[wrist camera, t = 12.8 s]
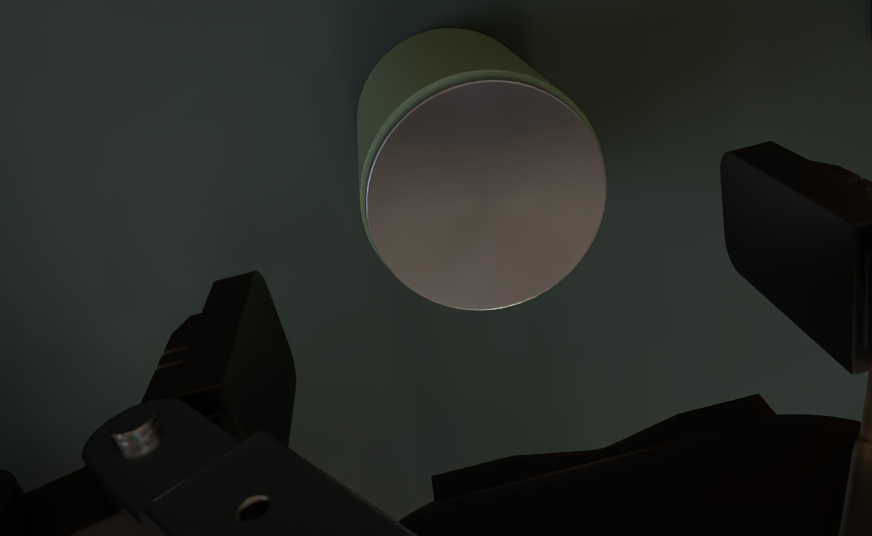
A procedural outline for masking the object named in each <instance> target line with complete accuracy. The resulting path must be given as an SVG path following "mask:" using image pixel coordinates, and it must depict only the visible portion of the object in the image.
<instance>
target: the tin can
mask: <svg viewBox="0 0 872 536" xmlns="http://www.w3.org/2000/svg"><path fill="white" fill-rule="evenodd" d="M357 138H358V165H359V191H360V209H361V214H362V220H363V224H364V227H365V230H366V233H367V236H368V238H369V240H370V242H371V244H372V246H373V248H374V250H375V252H376V253H377V255H378V256H379V258H380V259H381V261H382V262H383V263H384V264H385V265H386V266H387V268H388V269H389V270H390V271H391V272H392V273H393V274H394V275H395V277H396V278H397V279H398V280H400V281H401V282H402V283H403V284H404V285H405V286H407V287H408V288H409V289H411V290H412V291H414V292H415V293H417V294H419V295H420V296H422V297H424V298H426V299H428V300H431V301H433V302H435V303H438V304H441V305H444V306H447V307H452V308H458V309H464V310H493V309H499V308H506V307H509V306H513V305H516V304H520V303H522V302H525V301H527V300H530V299H532V298H534V297H536V296H538V295H540V294H542V293H544V292H546V291H547V290H549V289H550V288H552V287H553V286H554V285H556V284H557V283H559V282H560V281H561V280H562V279H563V278H564V277H566V276H567V275H568V274H569V273H570V272H571V271H572V270H573V269H574V268H575V266H576V265H577V264H578V263H579V262H580V261H581V259H582V258H583V257H584V255H585V254H586V252H587V251H588V249H589V248H590V246H591V244H592V242H593V240H594V238H595V237H596V234H597V232H598V229H599V227H600V224H601V221H602V217H603V213H604V209H605V204H606V194H607V179H606V171H605V165H604V160H603V154H602V151H601V148H600V144H599V141H598V138H597V136H596V134H595V132H594V130H593V128H592V126H591V124H590V123H589V121H588V120H587V118H586V117H585V115H584V114H583V112H582V111H581V110H580V109H579V108H578V107H577V106H576V105H575V103H574V102H573V101H572V100H571V99H569V98H568V97H567V96H566V95H564V94H563V93H562V92H561V91H560V90H558V89H557V88H556V87H555V86H553V85H552V84H551V83H550V82H549V81H547V80H546V79H545V78H544V77H542V76H541V75H540V74H539V73H537V72H536V71H535V70H534V69H532V68H531V67H530V66H529V65H528V64H526V63H525V62H524V61H523V60H521V59H520V58H519V57H518V56H516V55H515V54H514V53H513V52H511V51H510V50H509V49H508V48H507V47H505V46H504V45H503V44H501V43H500V42H498V41H496V40H495V39H493V38H491V37H489V36H487V35H484V34H482V33H479V32H476V31H472V30H468V29H461V28H441V29H434V30H429V31H426V32H422V33H419V34H417V35H414V36H412V37H410V38H408V39H406V40H404V41H403V42H401V43H399V44H398V45H396V46H395V47H394V48H393V49H391V50H390V51H389V52H388V53H387V54H386V55H385V56H384V57H383V58H382V59H381V60H380V61H379V62H378V63H377V65H376V66H375V67H374V69H373V70H372V72H371V73H370V75H369V77H368V79H367V81H366V83H365V85H364V88H363V90H362V93H361V96H360V100H359V104H358V111H357Z"/></svg>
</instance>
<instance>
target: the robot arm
mask: <svg viewBox="0 0 872 536" xmlns="http://www.w3.org/2000/svg"><path fill="white" fill-rule="evenodd" d="M720 174H721V189H722V203H723V218H724V233H725V243H726V248H727V251H728V255H729V257H730V260H731V262H732V264H733V266H734V267H735V269H736V270H737V272H738V273H739V274H740V275H741V276H742V277H744V278H745V279H746V280H747V281H748V282H749V283H750V284H751V285H753V286H754V287H755V288H756V289H757V290H758V291H759V292H760V293H761V294H763V295H764V296H765V297H766V298H767V299H768V300H769V301H770V302H771V303H773V304H774V305H775V306H776V307H777V308H778V309H779V310H780V311H781V312H783V313H784V314H785V315H786V316H787V317H788V318H789V319H790V320H792V321H793V322H794V323H795V324H796V325H797V326H798V327H799V328H800V329H802V330H803V331H804V332H805V333H806V334H807V335H808V336H809V337H810V338H812V339H813V340H814V341H815V342H816V343H817V344H818V345H819V346H820V347H822V348H823V349H824V350H825V351H826V352H827V353H828V354H829V355H831V356H832V357H833V358H834V359H835V360H836V361H837V362H838V363H839V364H841V365H842V366H843V367H844V368H845V369H846V370H847V371H848V372H849V373H851V374H852V375H856V374H860V373H864V372H868V371H870V372H869V378H868V384H867V391H866V397H865V403H864V409H863V416H862V422H859V421H855V420H850V419H844V418H837V417H831V416H820V415H804V414H786V415H777V414H776V413H775V412H774V411H773V410H772V409H771V408H770V406H769V405H768V404H767V403H766V402H765V401H764V399H763V398H762V397H761V396H760V395H759V394H755V395H751V396H747V397H743V398H740V399H736V400H732V401H728V402H724V403H720V404H716V405H712V406H708V407H704V408H700V409H696V410H692V411H688V412H684V413H680V414H677V415H675V416H673V417H670V418H668V419H666V420H664V421H662V422H660V423H658V424H655V425H653V426H651V427H649V428H647V429H645V430H643V431H640V432H638V433H636V434H634V435H632V436H630V437H627V438H625V439H623V440H621V441H619V442H617V443H615V444H612V445H610V446H608V447H605V448H602V449H597V450H588V451H574V452H560V453H546V454H532V455H518V456H509V457H505V458H501V459H497V460H494V461H490V462H486V463H482V464H478V465H474V466H470V467H466V468H462V469H458V470H454V471H450V472H446V473H442V474H438V475H434V476H431V478H432V485H433V492H434V499H435V501H433V502H431V503H429V504H426V505H424V506H422V507H421V508H419V509H417V510H416V511H414V512H412V513H410V514H409V515H407V516H406V517H404V518H403V519H401V520H400V521H399V522H397V521H396V520H395V519H393V518H392V517H390V516H389V515H387V514H386V513H384V512H383V511H381V510H380V509H378V508H377V507H375V506H374V505H372V504H371V503H369V502H368V501H366V500H365V499H363V498H362V497H360V496H359V495H358V494H356V493H355V492H353V491H352V490H350V489H349V488H347V487H346V486H344V485H343V484H341V483H340V482H338V481H337V480H335V479H334V478H332V477H331V476H329V475H328V474H326V473H325V472H324V471H322V470H321V469H319V468H318V467H316V466H315V465H313V464H312V463H310V462H309V461H307V460H306V459H304V458H303V457H301V456H300V455H298V454H297V453H295V452H294V451H292V450H291V449H289V448H288V445H289V437H290V429H291V421H292V413H293V405H294V398H295V390H296V371H295V365H294V360H293V356H292V353H291V349H290V346H289V344H288V341H287V338H286V336H285V333H284V330H283V328H282V325H281V322H280V319H279V317H278V314H277V311H276V309H275V306H274V303H273V300H272V298H271V295H270V292H269V290H268V287H267V284H266V282H265V280H264V278H263V276H262V275H261V273H260V272H259V271H253V272H249V273H245V274H241V275H237V276H233V277H229V278H225V279H221V280H217V281H215V282H214V283H213V285H212V288H211V290H210V293H209V295H208V298H207V300H206V303H205V305H204V308H203V310H202V313H200V314H196V315H192V316H190V317H189V318H188V319H187V320H186V321H185V322H184V323H183V324H182V325H181V326H180V327H179V328H178V329H176V330H175V331H174V332H173V333H172V335H171V337H170V339H169V341H168V344H167V346H166V348H165V350H164V354H165V355H162V357H161V359H160V361H159V364H158V366H157V367H158V370H155V373H154V375H153V377H152V379H151V382H150V384H149V386H148V388H147V390H146V393H145V395H144V397H143V399H142V402H141V404H138V405H136V406H133V407H131V408H129V409H127V410H125V411H123V412H121V413H119V414H117V415H116V416H114V417H113V418H111V419H109V420H108V421H107V422H105V423H104V424H103V425H102V426H100V427H99V428H98V429H97V430H96V431H95V432H94V433H93V434H92V435H91V436H90V438H89V439H88V441H87V442H86V444H85V446H84V448H83V452H82V458H83V461H84V462H85V464H86V466H85V467H83V468H81V469H79V470H77V471H75V472H73V473H71V474H69V475H66V476H64V477H62V478H60V479H57V480H55V481H53V482H51V483H48V484H46V485H44V486H42V487H39V488H37V489H35V490H33V491H30V492H28V493H26V494H25V493H24V492H23V490H22V488H21V487H20V485H19V483H18V482H17V480H16V478H15V477H14V476H13V474H12V473H10V472H9V471H6V470H0V536H872V182H871V181H869V180H867V179H865V178H864V179H861V178H860V176H858V175H856V174H854V173H852V172H850V171H848V170H846V169H844V168H842V167H840V166H837V165H832V164H826V163H821V162H816V161H811V160H808V159H806V158H804V157H802V156H800V155H798V154H796V153H794V152H792V151H790V150H788V149H786V148H784V147H782V146H780V145H778V144H776V143H774V142H772V141H768V142H764V143H760V144H756V145H752V146H748V147H744V148H741V149H737V150H733V151H729V152H726V153H725V154H724V155H723V157H722V159H721V165H720Z"/></svg>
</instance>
